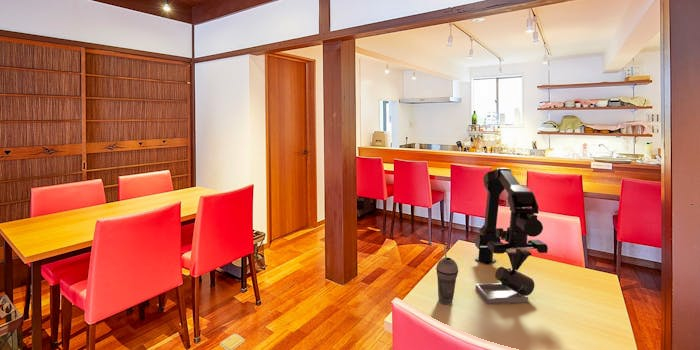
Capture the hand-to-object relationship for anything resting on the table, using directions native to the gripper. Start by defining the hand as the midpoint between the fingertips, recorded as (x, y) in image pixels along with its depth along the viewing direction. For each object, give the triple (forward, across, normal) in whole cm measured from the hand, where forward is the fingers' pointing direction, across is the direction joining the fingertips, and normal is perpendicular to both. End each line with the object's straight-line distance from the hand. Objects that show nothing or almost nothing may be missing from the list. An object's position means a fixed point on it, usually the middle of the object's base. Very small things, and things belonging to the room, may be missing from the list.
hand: (514, 269), depth 123 cm
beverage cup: (+10, +25, +2) cm, 27 cm away
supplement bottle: (+7, -6, 0) cm, 9 cm away
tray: (+10, +4, 0) cm, 11 cm away
